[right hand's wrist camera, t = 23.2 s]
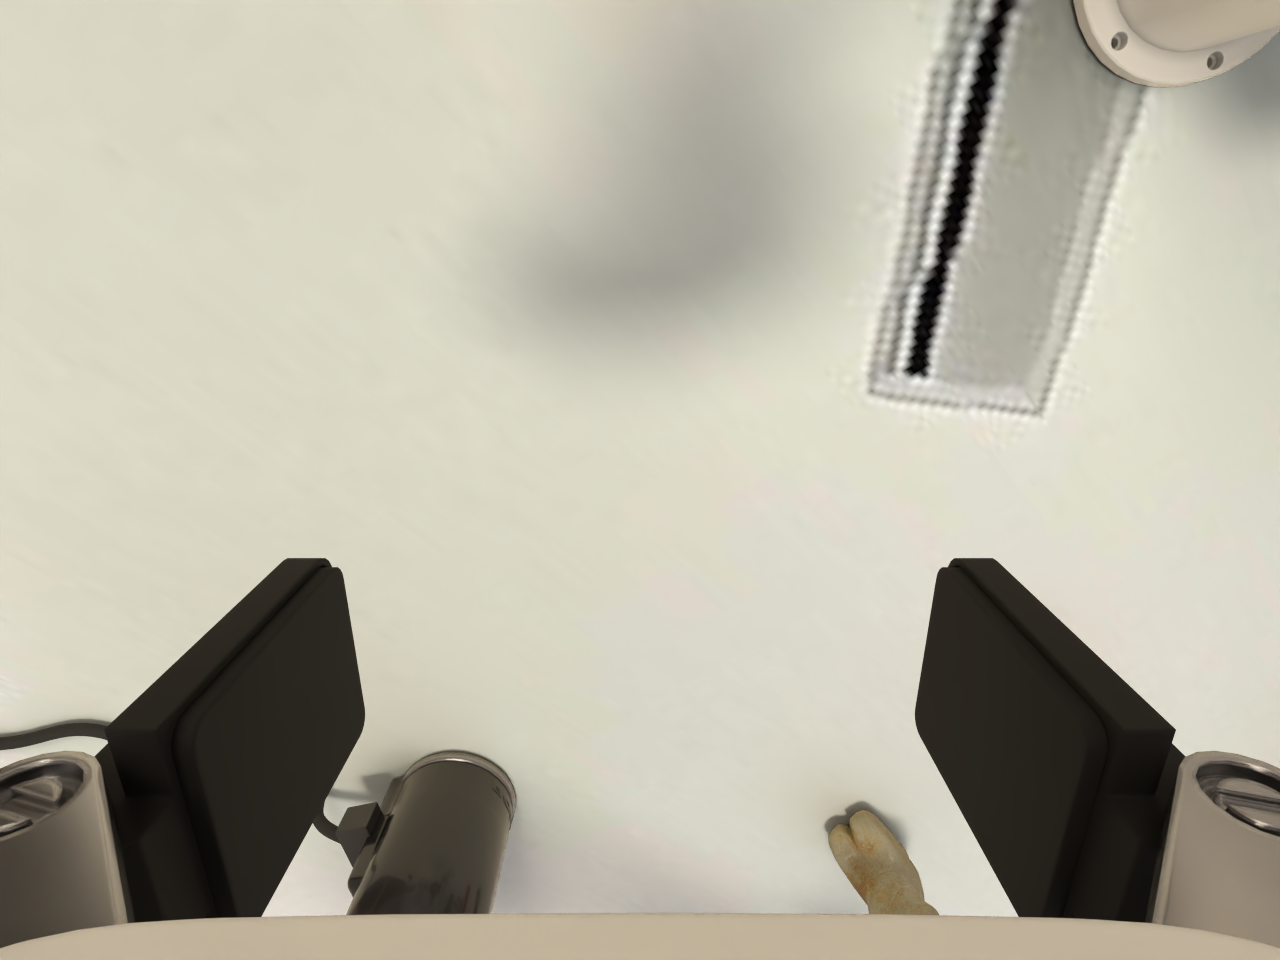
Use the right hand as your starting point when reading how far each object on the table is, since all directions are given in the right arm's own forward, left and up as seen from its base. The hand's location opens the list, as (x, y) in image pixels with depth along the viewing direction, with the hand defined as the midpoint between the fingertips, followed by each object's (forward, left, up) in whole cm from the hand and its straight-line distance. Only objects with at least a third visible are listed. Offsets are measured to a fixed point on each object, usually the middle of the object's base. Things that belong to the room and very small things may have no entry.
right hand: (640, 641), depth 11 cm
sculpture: (+20, +41, -35) cm, 58 cm away
